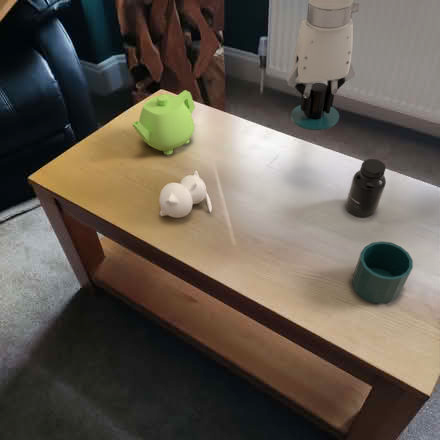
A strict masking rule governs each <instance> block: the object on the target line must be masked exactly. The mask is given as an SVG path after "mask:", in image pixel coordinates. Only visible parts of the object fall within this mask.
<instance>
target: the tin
mask: <svg viewBox="0 0 440 440" xmlns="http://www.w3.org/2000/svg"><path fill="white" fill-rule="evenodd" d="M413 268H414V264H413V258H412V256H411V255H410V253H409V252H408V251H407V250H406V249H404V248H403V247H402V246H401V245H398V244H396V243H393V242H390V241H383V240H382V241H380V240H379V241H375V242H371V243H369V244H367V245H366V246H364V247H363V249H362V250H361V252H360V254H359V258H358V260H357V263H356V266H355V269H354V272H353V275H352V282H351V283H352V288H353V289H354V291H355V293H356V294H357V295H358V296H359V297H360V298H361V299H363V300H365V301H366V302H369V303H373V304H380V305H382V304H388V303H391V302H393V301H395V300H396V299H397V298H398V297H399V296H400V294H401V292H402V290H403V288H404V287H405V285H406V283H407V280H408V279H409V276H410V274H411V272H412V270H413Z"/></svg>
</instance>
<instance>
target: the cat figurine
mask: <svg viewBox="0 0 440 440" xmlns="http://www.w3.org/2000/svg"><path fill="white" fill-rule="evenodd" d="M204 200H206V205H207V208H208V209H207V210H208V212H209V213H210V214H211V213H212V210H213V209H212V202H211V198H210V196H209V194H208V192H207V187H206V183H205V181H204V180H203V179H202V178H200V175H199V172H198V171H197V170H194V171H193V174H188V175H186V176H184V177H183V178H182V179H181V181H180V182H169V183H167V184H165V186H163V188H162V189H161V191H160V193H159V201H158V202H159V206H160V211H159V216H160V217H164V216H169V217H171V218H177V219H178V218H185V217H186V216H187V215H189V214H190V213H191V211H192V209H193V205H197V204H200V203H202V202H203V201H204Z"/></svg>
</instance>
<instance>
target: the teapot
mask: <svg viewBox="0 0 440 440" xmlns="http://www.w3.org/2000/svg"><path fill="white" fill-rule="evenodd" d="M195 109H196V105H195V102H194V100H193V96H192V94H191V92H190V91H189V90H187V89H184V90H182V91H181V92H180V93H179V94H177V95H172V94H169V93H163V94H159V95H156V96H154V97H152V98H149V99H148V100H147V101H146V102H145V103H144V104H143V106H142V108H141V111H140V115H139V118H138V119H139V120H135V121H134V122H133V123H131V125H132V127H133V129H134V130H135V131H136V133H137V134H138V135H139V137H140V138H141V140H142V141H143V142H145V144H147V145H148V146H150V147H151V148H153V149H155V150H157V151H163V154H164V155H171V154H173V152H174V150H175V149H177V148H179V147H181V146H183V145H186V144H189V143H190V139H191V137H192V135H193V134H194V132H195V122H194V119H193V116H192V114H193V112H194V110H195Z"/></svg>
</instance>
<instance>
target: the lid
mask: <svg viewBox="0 0 440 440" xmlns="http://www.w3.org/2000/svg"><path fill="white" fill-rule="evenodd" d="M327 91H328V86H327V83H324V82H313V84H312V88H311V91H310V96H311V99H312V100H311V108H310V115H309V116H305V114H304V112H303V111H302V110H301V104H299V105H297V106H296V107H294V108H293V109H292V110H291V114H290V118H291V121H292V123H293V124H294V125H295V126H297V127H299V128H301V129H304V130H307V131H323V130H328V129H331V128H333V127H334V126H336V125H337V123H339V119H340V114H339V111H338V110H337V109H336V108H335V107H333V106H332V107H330V113H328V114H327V113H325V104H326V98H327Z"/></svg>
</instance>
